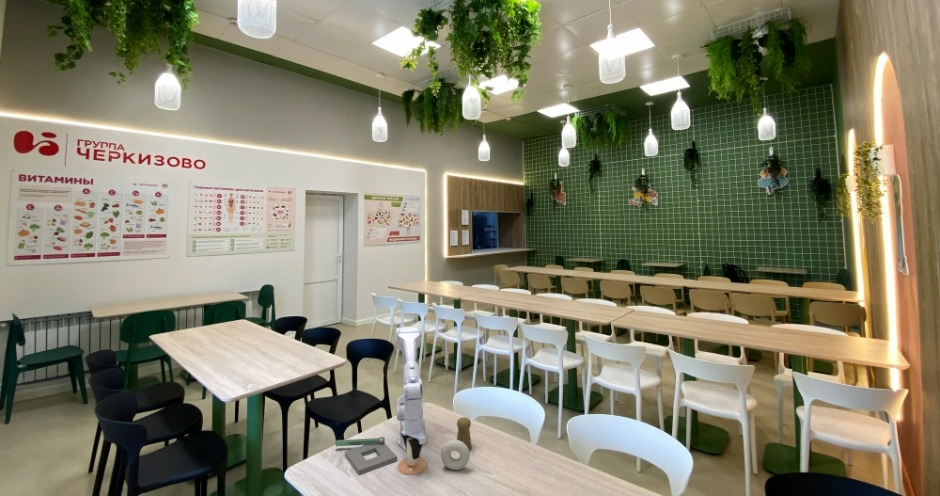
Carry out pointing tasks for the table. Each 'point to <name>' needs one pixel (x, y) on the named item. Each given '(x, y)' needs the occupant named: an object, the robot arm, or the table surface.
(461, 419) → the brown pawn
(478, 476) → the table surface
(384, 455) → the collar block
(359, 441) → the bar
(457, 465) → the donut
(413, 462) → the plug
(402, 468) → the coaster
